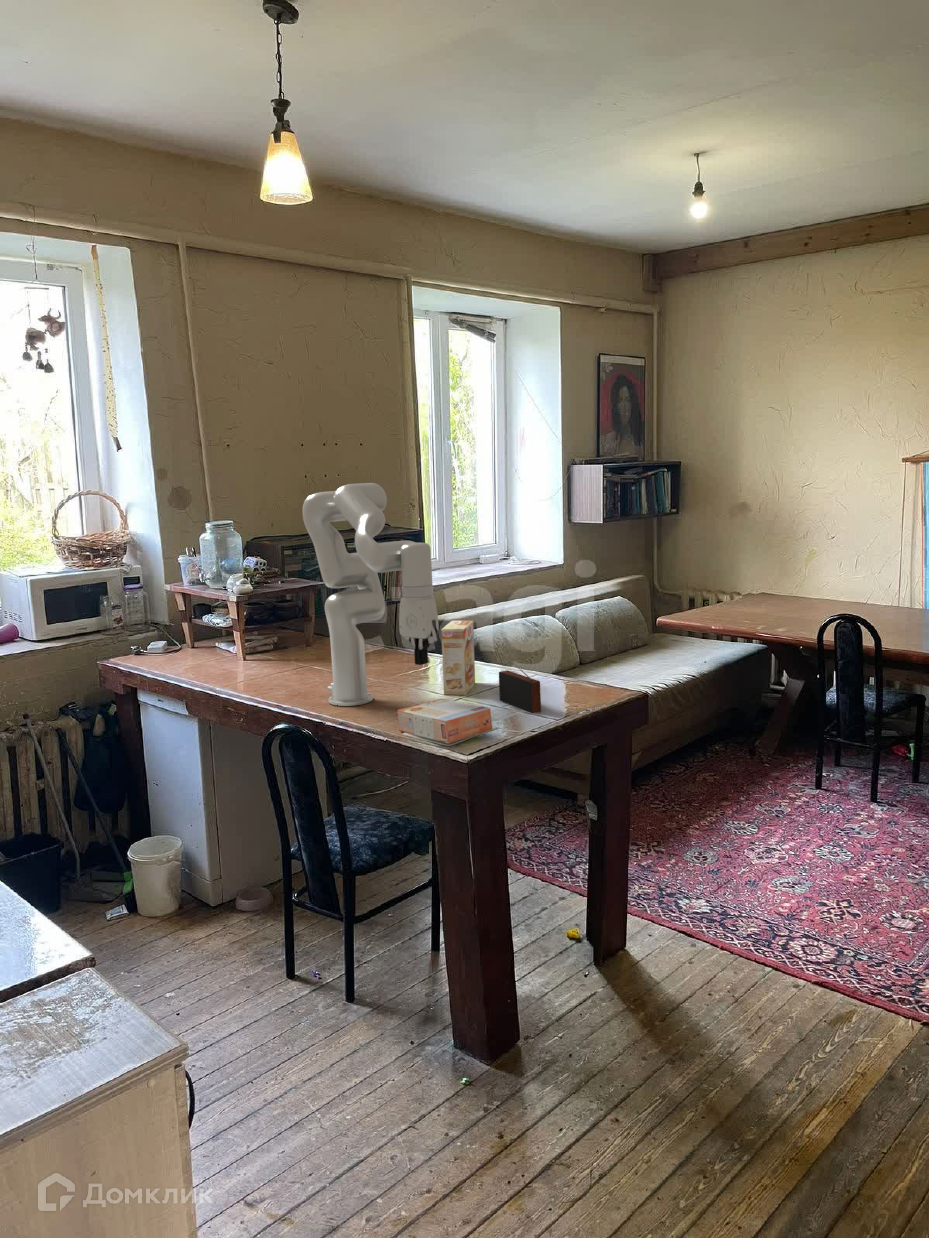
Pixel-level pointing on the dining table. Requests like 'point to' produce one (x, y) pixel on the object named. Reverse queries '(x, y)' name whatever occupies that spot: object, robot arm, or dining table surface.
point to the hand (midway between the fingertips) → (421, 663)
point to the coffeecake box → (458, 657)
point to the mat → (440, 741)
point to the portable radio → (519, 690)
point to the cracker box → (445, 720)
